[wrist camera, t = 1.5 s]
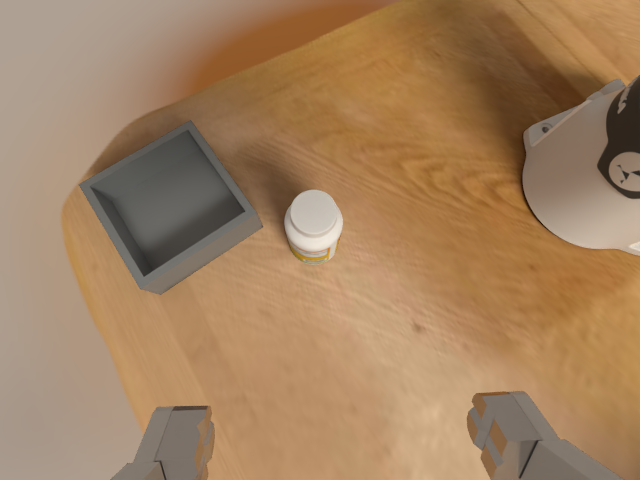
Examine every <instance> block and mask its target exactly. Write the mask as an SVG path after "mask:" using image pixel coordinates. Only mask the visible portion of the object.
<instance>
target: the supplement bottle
mask: <svg viewBox="0 0 640 480" xmlns="http://www.w3.org/2000/svg"><path fill="white" fill-rule="evenodd" d="M284 226H285V231H286V235H287V238H288V241H289V245H290V248H291V250H292V252H293V254H294V255H295V257H296V258H297V259H299V260H300V261H302V262H304V263H307V264H311V265H317V264H322V263H324V262H326V261H328V260H329V259H330V258H331V257H332V256H333V255H334V254H335V252H336V250H337V248H338V244H339V240H340V236H341V232H342V227H343V218H342V214H341V212H340V209H339V208H338V206H337V205H336V203H335V201H334V200H333V198H332V197H331V196H330V195H328V194H327V193H325V192H323V191H320V190H307V191H304V192H302V193H300V194H299V195H298V196H297V197H296V198H295V199H294V200H293V202H292V204H291V205H290V207H289V208H288V210H287V212H286V215H285V219H284Z"/></svg>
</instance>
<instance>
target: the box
mask: <svg viewBox="0 0 640 480" xmlns="http://www.w3.org/2000/svg"><path fill="white" fill-rule="evenodd" d="M79 186H80V188H81V189H82V191H83V193H84V195H85V196H86V198H87V200H88V201H89V203H90V205H91V206H92V208H93V210H94V212H95V213H96V215H97V217H98V218H99V220H100V222H101V223H102V225H103V227H104V229H105V230H106V232H107V234H108V235H109V237H110V239H111V240H112V242H113V244H114V246H115V247H116V249H117V251H118V252H119V254H120V256H121V257H122V259H123V261H124V263H125V264H126V266H127V268H128V269H129V271H130V273H131V274H132V276H133V278H134V279H135V281H136V283H137V285H138V286H139V288H140V289H142V290H145V291H149V292H153V293H156V294H160V295H161V294H162V293H164V292H165V291H167V290H168V289H170V288H171V287H173V286H174V285H176V284H177V283H179V282H181V281H182V280H184V279H185V278H187V277H188V276H190V275H191V274H193V273H194V272H196V271H197V270H199V269H200V268H202V267H203V266H205V265H206V264H208V263H209V262H211V261H212V260H214V259H215V258H217V257H218V256H220V255H221V254H223V253H224V252H226V251H227V250H229V249H231V248H232V247H234V246H235V245H237V244H238V243H240V242H241V241H243V240H244V239H246V238H247V237H249V236H250V235H252V234H253V233H255V232H256V231H258V230H259V229H261V228H262V227H263V225H262V223H261V221H260V219H259V217H258V214H257V213H256V211H255V210H254V208H253V207H252V206H251V204H250V203H249V201H248V200H247V199H246V197H245V196H244V194H243V193H242V192H241V190H240V189H239V187H238V186H237V184H236V183H235V182H234V180H233V179H232V177H231V176H230V175H229V173H228V172H227V170H226V169H225V168H224V166H223V165H222V163H221V162H220V161H219V159H218V158H217V156H216V155H215V154H214V152H213V151H212V149H211V148H210V147H209V145H208V144H207V142H206V141H205V139H204V138H203V137H202V135H201V134H200V132H199V131H198V130H197V128H196V127H195V125H194V124H193V123H192V121H191V120H190V121H188V122H186V123H185V124H183V125H181V126H179V127H178V128H176V129H174V130H173V131H171V132H169V133H167V134H166V135H164V136H162V137H160V138H159V139H157V140H155V141H153V142H152V143H150V144H148V145H146V146H145V147H143V148H141V149H140V150H138V151H136V152H134V153H133V154H131V155H129V156H127V157H126V158H124V159H122V160H120V161H119V162H117V163H115V164H114V165H112V166H110V167H108V168H107V169H105V170H103V171H101V172H100V173H98V174H96V175H94V176H93V177H91V178H89V179H87V180H86V181H84V182H82V183H81V184H79Z"/></svg>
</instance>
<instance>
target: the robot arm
mask: <svg viewBox="0 0 640 480" xmlns="http://www.w3.org/2000/svg"><path fill="white" fill-rule="evenodd" d="M542 130H543V131H544V132H545V133H544V132H543V131H542ZM523 139H524V145H525V149H526V160H525V164H524V169H523V188H524V193H525V196H526V199H527V201H528V204H529V206H530V207H531V209H532V211H533V212H534V214H535V215H536V217H537V218H538V219H539V220H540V221H541V223H542V224H543V225H544V226H545V227H546V228H548V229H549V230H550V231H551V232H552V233H554V234H555V235H557V236H558V237H560V238H562V239H563V240H565V241H567V242H570V243H572V244H575V245H578V246H581V247H586V248H593V249H610V248H612V249H620V250H622V251H625V252H628V253H631V254H634V255H639V256H640V75H639V76H638V77H637V78H635V79H634V80H633V81H632V82H631V83H630V84H629V85H628V86H627V87H626V86H625V84H624V83H623V82H622V81H621V80H620V79H615V80H613V81H612V82H610V83H609V84H607V85H606V86H604V87H603V88H602V89H600V90H599V91H597V92H595V93H593V94H592V95H590V96H589V97H588V98H587V99H586V101H585V102H583V103H582V104H581V105H578V106H576V107H574V108H571V109H569V110H567V111H564V112H562V113H560V114H557V115H555V116H553V117H550V118H548V119H545V120H543V121H541V122H538V123H536V124H534V125H532V126H530V127H529V128H528V129H526V130H525V132H524V134H523ZM472 403H473V405H474V407H473V408H472V409H471V410H470V411H469V412H468V416H467V427H468V431H469V434H470V437H471V439H472V441H473V444H475V445H476V446H477V447H478V448H479V449H481V450H482V453H481V460H482V462H483V464H484V467H485V469H486V471H487V473H488V475H489V477H490V479H491V480H624V479H622V478H621V477H619V476H618V475H616V474H615V473H614V472H612V471H611V470H609V469H608V468H606V467H605V466H603V465H602V464H600V463H599V462H597V461H596V460H594V459H593V458H592V457H590V456H589V455H587V454H586V453H584V452H583V451H581V450H580V449H578V448H577V447H575V446H574V445H573V444H571V443H570V442H568V441H567V440H565V439H564V440H560V438H559V437H558V436H557V434H556V433H555V431H554V430H553V429H552V427H551V426H550V424H549V423H548V422H547V420H546V419H545V417H544V416H543V415H542V413H541V412H540V411H539V409H538V408H537V406H536V405H535V404H534V402H533V401H532V399H531V398H530V397H529V395H528V394H527V393H525V392H524V391H516V392H490V393H476V394H475V395H474V396H473V399H472ZM211 415H212V411H211V407H210V406H169V407H157V408H156V409H155V411H154V412H153V414H152V417H151V419H150V422H149V424H148V427H147V429H146V432H145V434H144V437H143V439H142V442H141V444H140V446H139V449H138V452H137V454H136V456H135V459H134V462H133V463H127V464H126V465H125V466H124V467H123V468H122V469H121V470H120V471H119V472H118V473H117V474H116V475H115V476H114V477H113V478H112V479H111V480H207V478H208V469H207V463H208V462H209V460H210V459H211V458H212V454H213V448H214V439H215V430H214V423H213V422H211V421H210V420H211Z"/></svg>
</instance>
